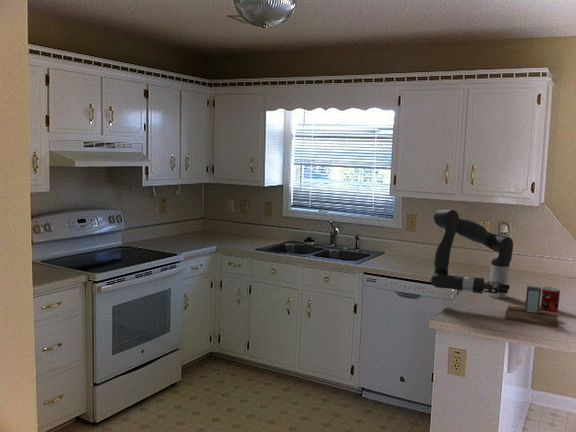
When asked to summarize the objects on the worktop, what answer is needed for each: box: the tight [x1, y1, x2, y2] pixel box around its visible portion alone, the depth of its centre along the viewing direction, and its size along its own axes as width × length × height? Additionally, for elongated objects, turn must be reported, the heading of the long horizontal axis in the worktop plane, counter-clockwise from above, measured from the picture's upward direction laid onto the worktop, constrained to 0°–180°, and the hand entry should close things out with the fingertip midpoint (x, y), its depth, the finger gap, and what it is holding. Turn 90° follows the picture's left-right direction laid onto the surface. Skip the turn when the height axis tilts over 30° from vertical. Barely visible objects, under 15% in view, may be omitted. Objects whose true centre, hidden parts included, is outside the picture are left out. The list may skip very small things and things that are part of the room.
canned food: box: [540, 286, 561, 313], centre depth 287 cm, size 8×8×11 cm
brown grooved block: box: [504, 305, 559, 328], centre depth 268 cm, size 13×22×4 cm, turn 64°
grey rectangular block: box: [524, 285, 542, 315], centre depth 268 cm, size 3×6×14 cm, turn 64°
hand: (508, 289), depth 273 cm, fingers open, 8 cm apart
